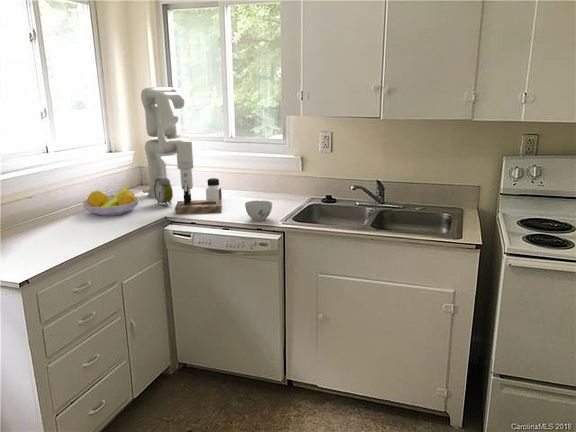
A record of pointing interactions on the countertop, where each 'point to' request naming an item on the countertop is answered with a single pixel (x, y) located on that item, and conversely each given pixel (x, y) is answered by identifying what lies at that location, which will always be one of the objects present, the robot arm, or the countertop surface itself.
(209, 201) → the keyhole plate
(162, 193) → the alarm clock
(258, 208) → the teacup
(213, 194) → the medicine bottle
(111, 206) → the fruit bowl
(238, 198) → the countertop surface
